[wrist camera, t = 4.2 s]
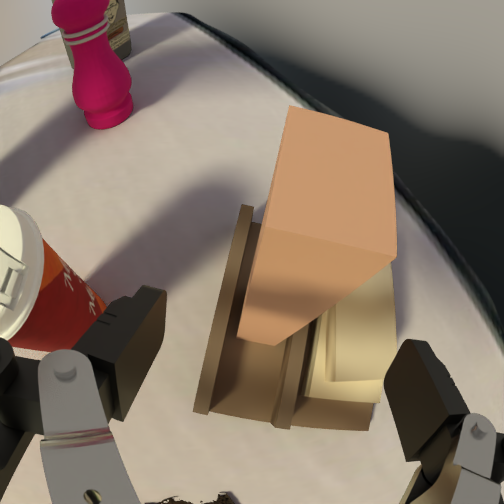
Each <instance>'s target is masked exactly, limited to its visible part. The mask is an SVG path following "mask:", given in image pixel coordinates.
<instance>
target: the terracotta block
mask: <svg viewBox="0 0 504 504" xmlns="http://www.w3.org/2000/svg"><path fill="white" fill-rule="evenodd" d="M396 257H397V233H396V209H395V194H394V181H393V170H392V161H391V152H390V145H389V137H388V133H386V132H383V131H380V130H377V129H374V128H371V127H367V126H364V125H361V124H358V123H355V122H351V121H348V120H345V119H341V118H338V117H334V116H330V115H327V114H323V113H319V112H315V111H311V110H307V109H303V108H299V107H294V106H290V105H289V109H288V114H287V118H286V122H285V127H284V131H283V135H282V140H281V144H280V148H279V153H278V157H277V161H276V165H275V170H274V174H273V178H272V183H271V187H270V191H269V196H268V200H267V204H266V209H265V213H264V217H263V221H262V226H261V230H260V234H259V239H258V243H257V247H256V251H255V256H254V260H253V264H252V268H251V273H250V277H249V281H248V285H247V290H246V294H245V299H244V304H243V308H242V313H241V318H240V323H239V327H238V332H237V337H236V338H238V339H242V340H247V341H252V342H257V343H262V344H267V345H272V346H275V345H277V344H278V343H280V342H282V341H283V340H285V339H286V338H288V337H289V336H291V335H292V334H294V333H295V332H297V331H298V330H300V329H301V328H302V327H304V326H305V325H307V324H308V323H310V322H311V321H313V320H314V319H315V318H317V317H318V316H320V315H321V314H323V313H324V312H325V311H327V310H328V309H330V308H331V307H332V306H334V305H335V304H337V303H338V302H339V301H341V300H342V299H343V298H345V297H346V296H347V295H349V294H350V293H352V292H353V291H354V290H356V289H357V288H358V287H360V286H361V285H362V284H363V283H365V282H366V281H367V280H369V279H370V278H371V277H373V276H374V275H375V274H376V273H378V272H379V271H380V270H382V269H383V268H384V267H385V266H387V265H388V264H389V263H390V262H392V261H393V260H394V259H395V258H396Z"/></svg>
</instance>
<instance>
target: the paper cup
mask: <svg viewBox="0 0 504 504" xmlns="http://www.w3.org/2000/svg"><path fill="white" fill-rule="evenodd" d="M106 308H107V307H106V305H105V303H104V302H103V301H102V299H101V298H100V297H99V296H98V295H97V294H96V293H95V292H94V291H93V290H92V289H91V288H90V287H89V286H88V285H87V284H86V283H85V282H84V281H83V280H82V279H81V278H80V277H79V276H78V275H77V274H76V273H75V272H74V271H73V270H72V269H71V268H70V267H69V266H68V265H67V264H66V263H65V262H64V261H63V260H62V259H61V258H60V257H59V256H58V254H57V253H56V252H55V251H54V250H53V249H52V248H51V247H50V246H49V245H48V244H47V243H46V241H45V240H44V239H43V238H42V236H41V233H40V230H39V228H38V226H37V224H36V222H35V221H34V220H33V218H32V217H31V216H30V215H29V214H27V213H26V212H25V211H23V210H20V209H17V208H10V207H8V206H5V205H0V337H1V338H4V339H5V340H7V341H8V342H9V343H10V344H11V346H12V347H18V348H24V349H31V350H38V351H46V352H53V351H56V350H62V349H69V350H71V348H72V347H73V346H74V345H75V344H76V342H77V341H78V340H79V339H80V338H81V337H82V335H83V334H84V333H85V332H86V331H87V330H88V328H89V327H90V326H91V325H92V324H93V323H94V322H95V321H96V320H97V318H98V317H99V316H100V315H101V314H103V311H104V310H105V309H106Z"/></svg>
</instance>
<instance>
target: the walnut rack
mask: <svg viewBox="0 0 504 504" xmlns="http://www.w3.org/2000/svg"><path fill="white" fill-rule="evenodd" d="M253 210H254V207H252V206H247V205H243V204H242V205H241V209H240V213H239V217H238V221H237V225H236V229H235V233H234V237H233V241H232V245H231V249H230V253H229V257H228V261H227V265H226V269H225V273H224V277H223V281H222V286H221V290H220V294H219V298H218V302H217V307H216V311H215V315H214V319H213V324H212V328H211V332H210V336H209V341H208V345H207V349H206V354H205V358H204V363H203V367H202V371H201V376H200V380H199V385H198V389H197V394H196V399H195V403H194V408H193V412H196V413H200V414H204V415H208V413H209V411H211V412H215V413H220V414H225V415H230V416H235V417H240V418H246V419H251V420H257V421H263V422H270V423H271V424H272V425H273V426H274V427H275V428H282V429H290V426H291V425H292V426H301V427H311V428H322V429H336V430H355V431H368V430H369V425H370V420H371V414H372V409H373V403H369V402H354V401H342V400H332V399H322V398H314V397H307V396H302V395H301V392H302V386H303V381H304V375H305V370H306V364H307V358H308V352H309V346H310V340H311V333H312V327H313V321H311V322H310V323H308V324H307V325H305V326H304V327H302V328H301V329H300V330H298V331H297V332H295V333H294V334H292V335H291V336H289V337H288V338H286V339H285V340H283V341H282V342H280V343H278V344H277V345H275V346H272V345H267V344H262V343H257V342H252V341H247V340H242V339H238V338H236V337H237V332H238V327H239V323H240V318H241V313H242V308H243V304H244V299H245V294H246V290H247V285H248V281H249V277H250V273H251V268H252V264H253V260H254V256H255V251H256V247H257V243H258V239H259V234H260V230H261V226H262V224H259V223H255V222H252V216H253Z"/></svg>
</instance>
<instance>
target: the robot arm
mask: <svg viewBox="0 0 504 504" xmlns="http://www.w3.org/2000/svg"><path fill="white" fill-rule="evenodd" d="M166 303H167V293H166V291H165V290H161V289H157V288H153V287H150V286H146V285H143V286H142V287H141V288H140V289H139V290H138V291H137V292H136V294H135V295H134V296H133V297H132V298H131V297H127V296H123V297H121V298H119V299H117V300H115V301H113V302H111V304H110V305H109V306H108V307H107V308H106V309H105V310H104V311H103V314H101V315H100V316H99V317H98V318H97V320H96V321H95V322H94V323H93V324H92V325H91V326H90V327H89V328H88V330H87V331H86V332H85V333H84V334H83V335H82V337H81V338H80V339H79V340H78V341H77V342H76V344H75V345H74V346H73V347H72V348H71V350H69V349H62V350H56V351H53V352H51V353H49V354H47V355H46V356H45V357H44V358H43V359H42V360H34V359H28V358H23V357H18V356H15V354H14V351H13V348H12V346H11V344H10V343H9V342H8V341H7V340H5V339H4V338H1V337H0V501H1V499H2V497H3V495H4V492H5V490H6V488H7V486H8V484H9V482H10V480H11V478H12V476H13V474H14V472H15V470H16V468H17V466H18V464H19V462H20V460H21V459H22V457H23V455H24V453H25V451H26V449H27V447H28V446H29V444H30V442H31V440H32V438H33V437H34V435H35V434H40V435H44V440H41V441H40V451H41V457H42V462H43V467H44V472H45V477H46V481H47V485H48V489H49V493H50V497H51V501H52V504H141V503H140V501H139V499H138V497H137V494H136V492H135V490H134V488H133V486H132V483H131V481H130V479H129V476H128V474H127V471H126V469H125V466H124V464H123V461H122V459H121V456H120V454H119V451H118V448H117V445H116V443H115V440H114V437H113V435H112V432H111V431H110V429H109V426H108V424H109V422H110V420H111V418H114V419H116V420H119V421H122V422H123V421H124V419H125V417H126V415H127V413H128V411H129V409H130V407H131V405H132V403H133V401H134V399H135V397H136V395H137V393H138V391H139V389H140V387H141V385H142V383H143V381H144V379H145V377H146V375H147V373H148V371H149V369H150V367H151V365H152V363H153V361H154V359H155V357H156V355H157V353H158V352H159V350H160V348H161V345H162V342H163V338H164V332H165V318H166ZM384 390H385V393H386V396H387V399H388V402H389V405H390V408H391V411H392V415H393V418H394V421H395V424H396V428H397V431H398V434H399V438H400V441H401V445H402V448H403V452H404V455H405V459H406V462H411V461H420V462H421V465H420V466H419V467H418V468H417V469H416V470H415V472H414V475H413V477H412V479H411V481H410V483H409V485H408V487H407V489H406V491H405V493H404V495H403V497H402V499H401V500H400V502H399V504H504V501H503V498H502V495H501V484H500V483H501V482H503V481H504V434H503V433H497V432H496V430H495V428H494V426H493V424H492V423H491V422H490V421H489V420H488V419H487V418H486V417H484V416H483V415H480V414H477V413H470V411H469V409H468V407H467V405H466V403H465V401H464V400H463V398H462V396H461V394H460V392H459V390H458V388H457V386H455V383H454V381H453V379H452V378H450V374H449V372H448V370H447V369H446V367H445V365H444V364H443V363H442V362H441V361H440V360H439V359H438V358H437V357H436V355H435V354H434V352H433V350H432V349H431V347H430V345H429V344H428V342H426V341H421V340H413V339H406V340H405V341H404V342H403V343H402V345H401V347H400V349H399V351H398V353H397V354H396V356H395V358H394V360H393V362H392V363H391V365H390V367H389V369H388V370H387V372H386V375H385V378H384Z"/></svg>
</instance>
